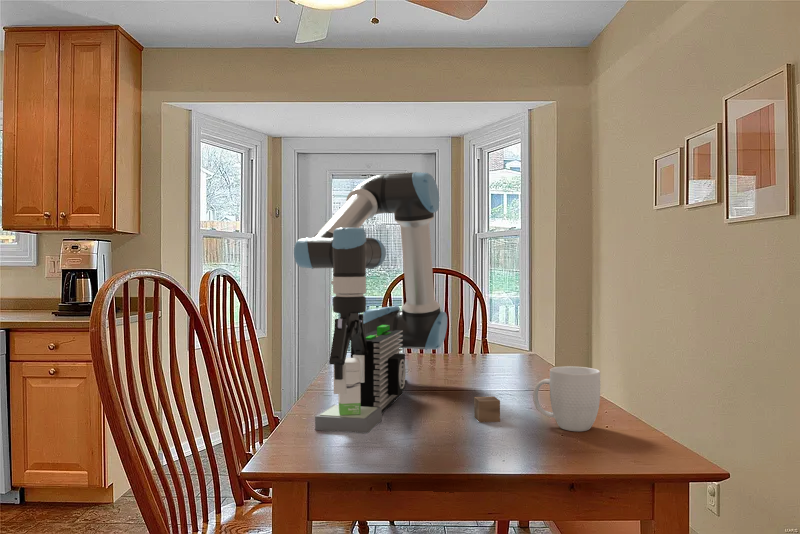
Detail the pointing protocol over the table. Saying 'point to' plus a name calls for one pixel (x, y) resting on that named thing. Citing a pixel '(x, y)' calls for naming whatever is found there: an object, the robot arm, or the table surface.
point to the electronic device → (383, 368)
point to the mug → (572, 396)
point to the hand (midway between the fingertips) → (349, 388)
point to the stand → (348, 420)
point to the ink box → (351, 389)
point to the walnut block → (487, 409)
